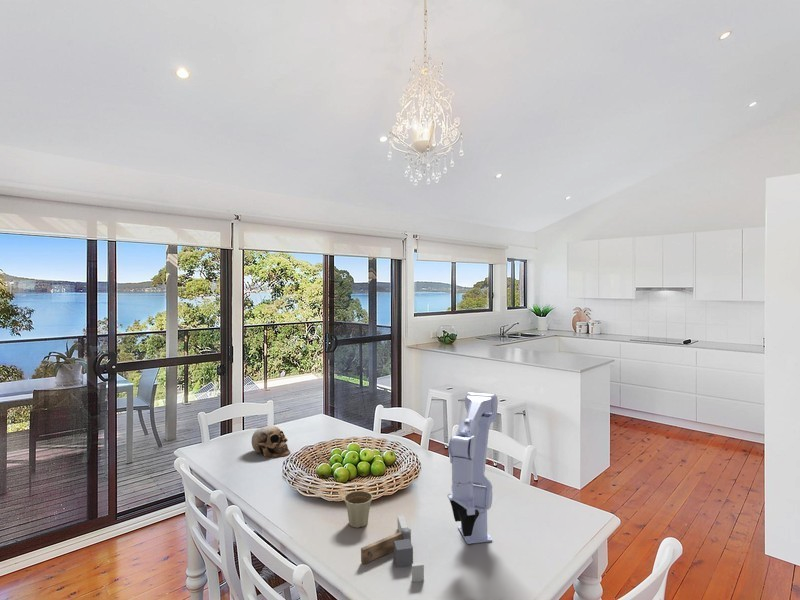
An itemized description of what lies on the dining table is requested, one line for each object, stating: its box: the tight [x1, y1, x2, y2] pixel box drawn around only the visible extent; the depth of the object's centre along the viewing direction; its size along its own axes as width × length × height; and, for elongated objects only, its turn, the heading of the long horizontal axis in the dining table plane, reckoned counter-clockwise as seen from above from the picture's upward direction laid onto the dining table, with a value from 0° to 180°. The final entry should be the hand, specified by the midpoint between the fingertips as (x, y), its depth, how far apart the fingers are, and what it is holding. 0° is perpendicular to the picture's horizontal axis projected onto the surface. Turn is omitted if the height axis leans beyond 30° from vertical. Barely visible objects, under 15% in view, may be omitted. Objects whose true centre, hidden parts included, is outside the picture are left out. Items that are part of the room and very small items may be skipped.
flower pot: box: [343, 490, 374, 528], centre depth 142 cm, size 9×9×9 cm
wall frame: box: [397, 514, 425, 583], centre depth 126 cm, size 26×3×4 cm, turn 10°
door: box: [360, 531, 402, 565], centre depth 124 cm, size 14×2×4 cm, turn 126°
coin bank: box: [251, 425, 291, 458], centre depth 207 cm, size 16×17×13 cm
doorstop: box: [393, 539, 414, 568], centre depth 121 cm, size 4×4×5 cm
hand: (462, 527), depth 120 cm, fingers open, 7 cm apart
